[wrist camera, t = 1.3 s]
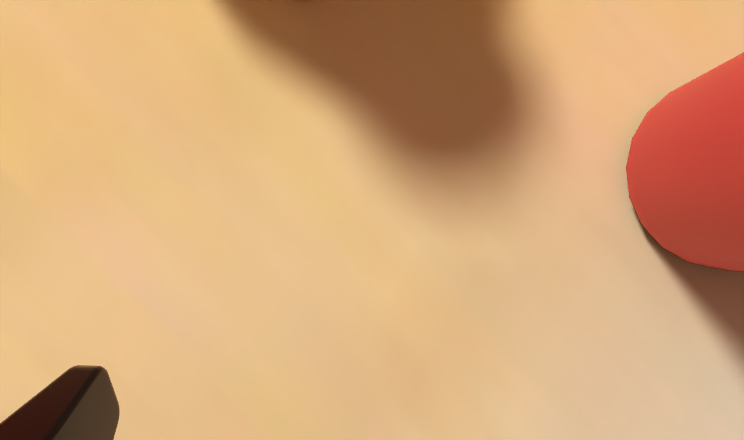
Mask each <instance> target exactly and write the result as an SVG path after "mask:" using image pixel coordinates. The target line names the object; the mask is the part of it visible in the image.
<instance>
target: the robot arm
mask: <svg viewBox="0 0 744 440" xmlns="http://www.w3.org/2000/svg"><path fill="white" fill-rule="evenodd" d="M118 420H119V404H118V401H117V398H116V395H115V392H114V389H113V386H112V383H111V381H110V378H109V375H108V372H107V370H106V369H105V368H103V367H101V366H84V365H78V366H74V367H72V368H70V369H68V370H67V371H66V372H65V373H63V374H62V375H61V376H59V377H58V378H57V379H56V380H54V381H53V382H52V383H51V384H49V385H48V386H47V387H46V388H44V389H43V390H42V391H41V392H39V393H38V394H37V395H36V396H34V397H33V398H32V399H30V400H29V401H28V402H27V403H25V404H24V405H23V406H22V407H20V408H19V409H18V410H17V411H15V412H14V413H13V414H12V415H10V416H9V417H8V418H6V419H5V420H4V421H3V422H1V423H0V440H113V439H114V435H115V432H116V428H117V424H118Z"/></svg>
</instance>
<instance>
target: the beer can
mask: <svg viewBox="0 0 744 440" xmlns="http://www.w3.org/2000/svg"><path fill="white" fill-rule="evenodd" d="M626 172H627V181H628V190H629V198H630V200H631V202H632V204H633V206H634V209H635V211H636V213H637V215H638V217H639V219H640V222H641V224H642V225H643V226H644V228H645V229H646V230H647V231H648V232H649V233H650V234H651V235H652V236H653V237H654V238H655V240H656V241H657V242H658V243H659V244H660V245H661V246H662V247H663V248H665V249H667V250H668V251H670V252H672V253H674V254H675V255H677V256H679V257H681V258H682V259H684V260H686V261H688V262H690V263H694V264H699V265H704V266H708V267H713V268H718V269H725V270H734V271H744V53H742V54H740V55H738V56H736V57H735V58H733V59H731V60H729V61H727V62H725V63H723V64H722V65H720V66H718V67H716V68H714V69H712V70H711V71H709V72H707V73H705V74H703V75H701V76H699V77H698V78H696V79H694V80H692V81H690V82H688V83H687V84H685V85H683V86H681V87H679V88H677V89H675V90H674V91H672V92H670V93H669V94H668V95H667V96H665V97H664V98H663V99H662V100H661V101H660V102H659V103H658V104H656V105H655V106H654V107H653V108H652V109H651V110H650V111H649V112H647V114H646V116H645V117H644V119H643V121H642V123H641V124H640V126H639V128H638V129H637V131H636V133H635V135H634V136H633V138H632V142H631V147H630V151H629V156H628V161H627V165H626Z"/></svg>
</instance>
